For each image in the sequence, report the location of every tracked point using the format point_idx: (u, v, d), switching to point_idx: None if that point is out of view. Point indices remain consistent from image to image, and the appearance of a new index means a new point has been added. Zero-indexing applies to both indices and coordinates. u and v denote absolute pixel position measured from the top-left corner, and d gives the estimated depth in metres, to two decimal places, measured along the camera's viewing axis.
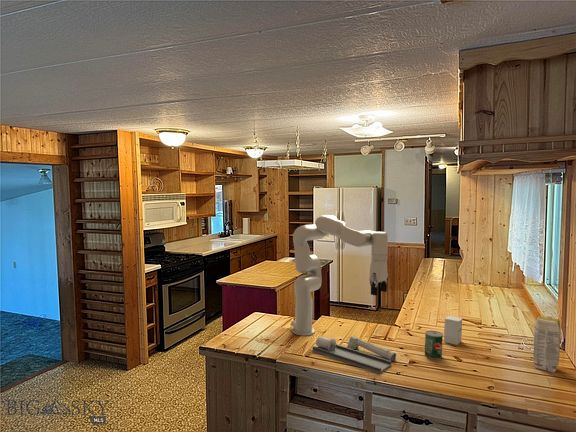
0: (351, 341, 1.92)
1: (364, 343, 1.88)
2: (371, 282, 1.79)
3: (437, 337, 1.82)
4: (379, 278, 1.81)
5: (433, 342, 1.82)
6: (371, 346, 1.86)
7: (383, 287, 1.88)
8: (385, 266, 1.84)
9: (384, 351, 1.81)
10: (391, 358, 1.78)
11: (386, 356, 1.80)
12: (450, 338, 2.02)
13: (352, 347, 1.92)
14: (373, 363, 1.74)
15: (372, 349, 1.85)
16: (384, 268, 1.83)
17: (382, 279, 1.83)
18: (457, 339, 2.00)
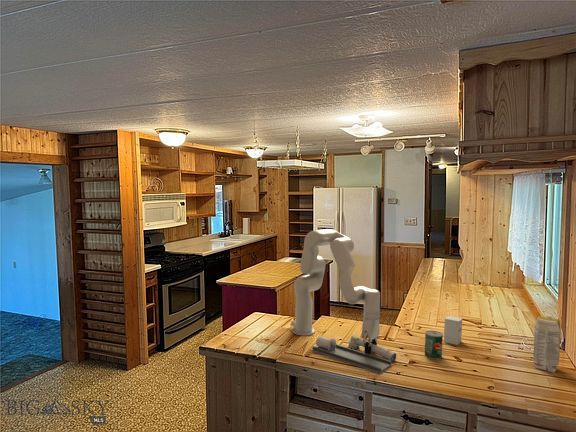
0: (352, 341, 1.93)
1: None
2: (365, 343, 1.83)
3: (437, 337, 1.82)
4: (371, 336, 1.83)
5: (433, 342, 1.82)
6: (371, 346, 1.86)
7: None
8: (377, 323, 1.87)
9: (384, 351, 1.81)
10: (391, 358, 1.78)
11: (386, 356, 1.80)
12: (450, 338, 2.02)
13: (353, 347, 1.92)
14: (373, 363, 1.74)
15: (372, 349, 1.85)
16: (376, 326, 1.86)
17: (374, 337, 1.85)
18: (457, 339, 2.00)
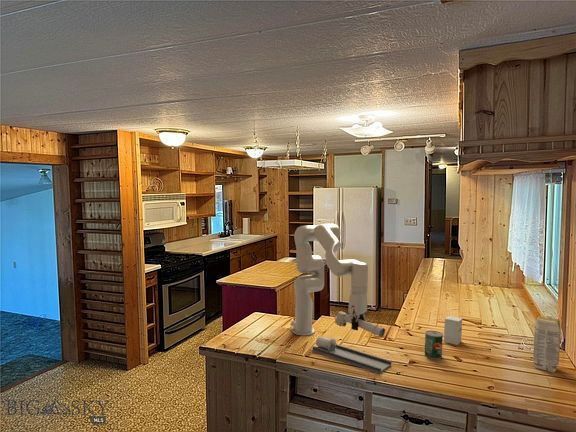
0: (339, 317, 1.83)
1: None
2: (352, 318, 1.74)
3: (437, 337, 1.82)
4: (358, 311, 1.74)
5: (433, 342, 1.82)
6: (359, 321, 1.76)
7: None
8: (365, 298, 1.77)
9: (372, 326, 1.72)
10: (379, 333, 1.69)
11: (374, 331, 1.71)
12: (450, 338, 2.02)
13: (339, 323, 1.83)
14: (373, 363, 1.74)
15: (360, 324, 1.76)
16: (364, 300, 1.77)
17: (361, 312, 1.76)
18: (457, 339, 2.00)
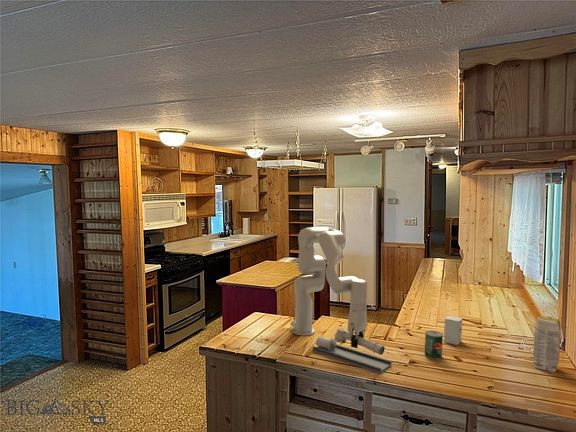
0: (338, 334, 1.83)
1: None
2: (351, 336, 1.74)
3: (437, 337, 1.82)
4: (357, 329, 1.74)
5: (433, 342, 1.82)
6: (359, 339, 1.76)
7: None
8: (364, 315, 1.78)
9: (372, 344, 1.72)
10: (379, 351, 1.69)
11: (374, 349, 1.71)
12: (450, 338, 2.02)
13: (339, 341, 1.82)
14: (373, 363, 1.74)
15: (360, 342, 1.76)
16: (363, 318, 1.77)
17: (361, 329, 1.76)
18: (457, 339, 2.00)
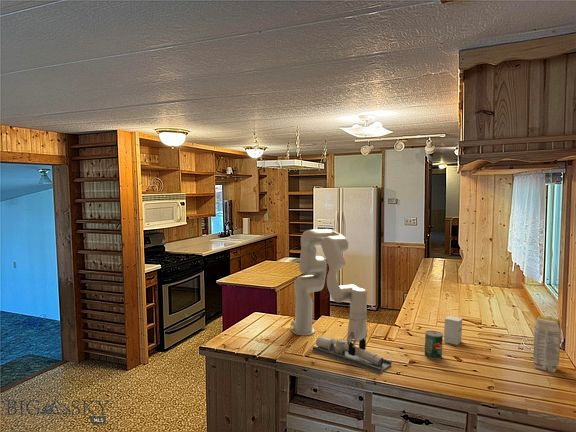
0: (337, 345, 1.84)
1: None
2: (348, 343, 1.72)
3: (437, 337, 1.82)
4: (357, 338, 1.74)
5: (433, 342, 1.82)
6: (358, 350, 1.77)
7: (362, 345, 1.82)
8: (364, 324, 1.78)
9: (371, 356, 1.72)
10: (378, 363, 1.70)
11: (373, 361, 1.71)
12: (450, 338, 2.02)
13: (338, 351, 1.83)
14: None
15: (359, 353, 1.76)
16: (363, 326, 1.77)
17: (360, 338, 1.76)
18: (457, 339, 2.00)
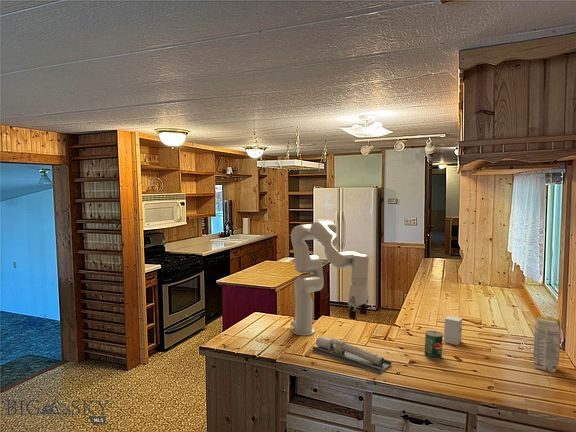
0: (337, 345, 1.83)
1: (351, 347, 1.80)
2: (349, 306, 1.76)
3: (437, 337, 1.82)
4: (358, 302, 1.78)
5: (433, 342, 1.82)
6: (358, 350, 1.77)
7: (363, 310, 1.85)
8: (365, 289, 1.81)
9: (371, 355, 1.73)
10: (379, 363, 1.70)
11: (374, 361, 1.71)
12: (450, 338, 2.02)
13: (338, 352, 1.83)
14: None
15: (359, 353, 1.76)
16: (364, 291, 1.80)
17: (361, 303, 1.80)
18: (457, 339, 2.00)
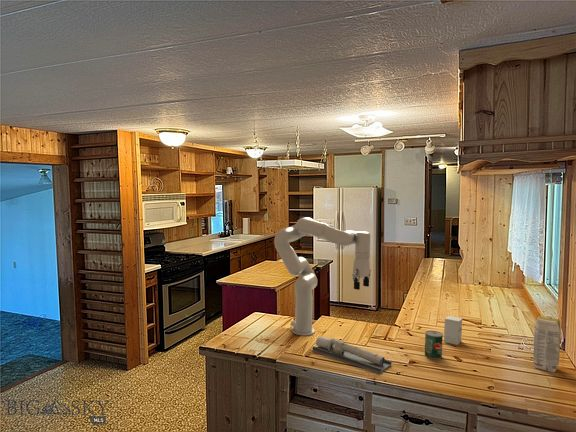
0: (337, 346, 1.83)
1: (351, 347, 1.79)
2: (354, 277, 1.96)
3: (437, 337, 1.82)
4: (361, 274, 1.98)
5: (433, 342, 1.82)
6: (358, 350, 1.77)
7: (365, 282, 2.06)
8: (367, 263, 2.02)
9: (372, 355, 1.73)
10: (380, 363, 1.70)
11: (374, 361, 1.71)
12: (450, 338, 2.02)
13: (338, 352, 1.82)
14: None
15: (359, 354, 1.76)
16: (366, 265, 2.01)
17: (364, 275, 2.00)
18: (457, 339, 2.00)
